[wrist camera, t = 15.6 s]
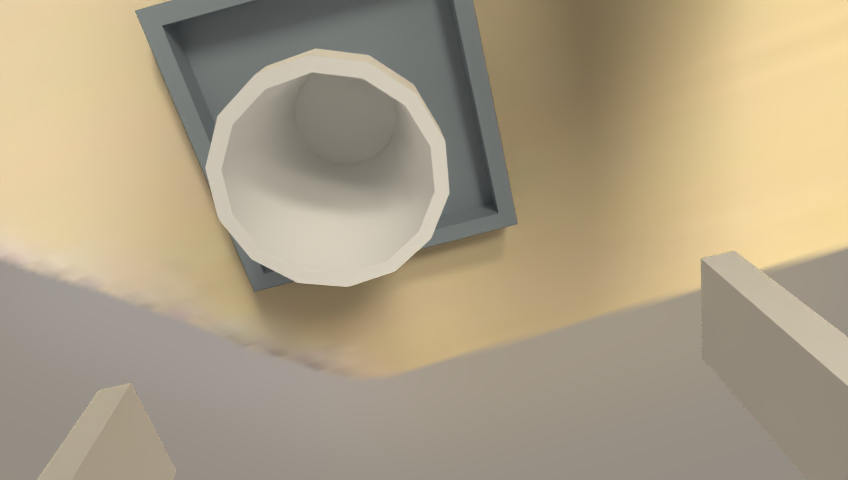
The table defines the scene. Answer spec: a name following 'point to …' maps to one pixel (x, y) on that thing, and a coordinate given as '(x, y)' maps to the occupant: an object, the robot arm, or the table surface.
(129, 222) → the table surface
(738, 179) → the table surface
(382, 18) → the slate tray
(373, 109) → the foam cup
